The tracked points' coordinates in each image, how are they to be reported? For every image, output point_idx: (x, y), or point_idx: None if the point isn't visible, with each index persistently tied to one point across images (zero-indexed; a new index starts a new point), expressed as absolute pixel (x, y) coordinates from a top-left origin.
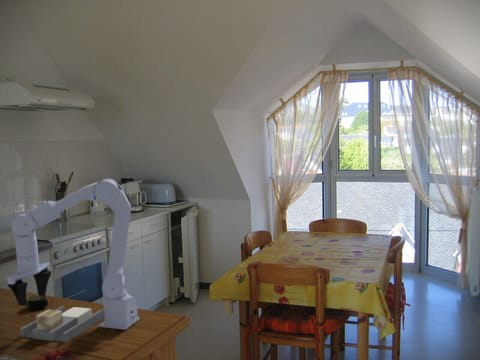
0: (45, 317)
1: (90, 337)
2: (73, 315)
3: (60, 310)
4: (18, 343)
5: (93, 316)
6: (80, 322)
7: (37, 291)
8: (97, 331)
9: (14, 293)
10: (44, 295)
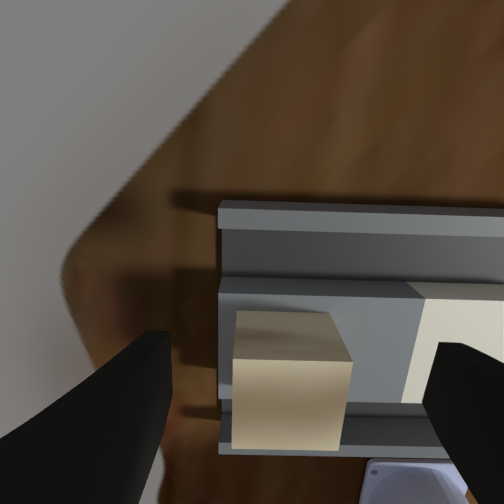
0: (232, 418)
1: (280, 471)
2: (424, 374)
3: None
4: (161, 241)
5: (416, 455)
6: (341, 447)
7: (477, 363)
8: (332, 467)
9: (4, 454)
10: (430, 409)
